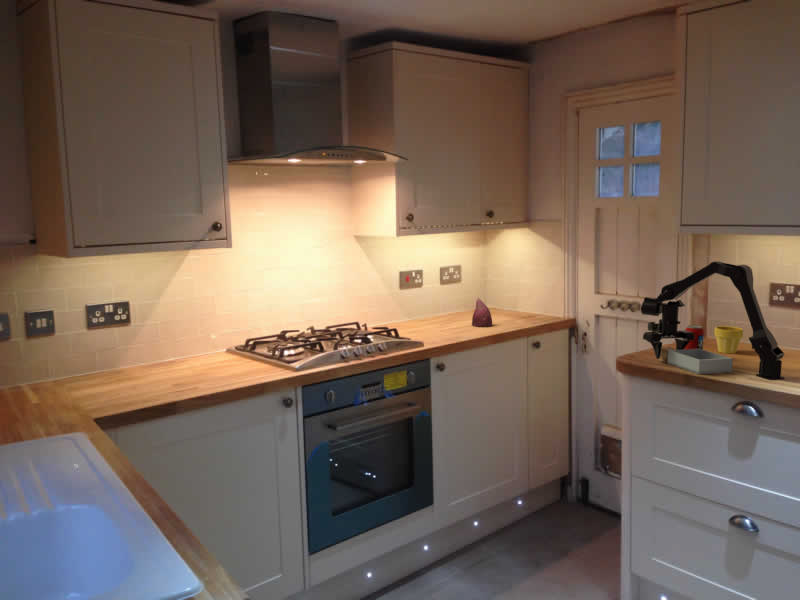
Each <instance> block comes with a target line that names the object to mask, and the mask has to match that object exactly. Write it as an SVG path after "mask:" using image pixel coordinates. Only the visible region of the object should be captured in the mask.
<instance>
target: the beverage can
mask: <svg viewBox="0 0 800 600" xmlns="http://www.w3.org/2000/svg"><path fill="white" fill-rule="evenodd" d="M685 330H686V331H690V332H693V333H694V335H695V339H694V340H689V341H691V342H689V343H688V344H687V346H686V347H685V348H684V349H702V350H704V338H705V337H704V333H705V331H704V328H703V326H702V325H691V324H689V325H687V326H686V328H685Z"/></svg>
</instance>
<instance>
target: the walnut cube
mask: <svg viewBox="0 0 800 600" xmlns="http://www.w3.org/2000/svg"><path fill="white" fill-rule="evenodd" d="M668 350H677V349H676V348H673V347H671V346H670V347H669V346H665V347H663V346H662V348H661V354H660V358H659V359H657V361H658V360H660V361H659V362H661V361H662V362H661V363H664V362H665V363H664V364H667V361H668Z"/></svg>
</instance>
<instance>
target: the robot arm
mask: <svg viewBox="0 0 800 600" xmlns="http://www.w3.org/2000/svg"><path fill="white" fill-rule="evenodd" d="M716 274H718V275H720V276H723V277H727V278H729V279H730V281H731V282H732V284H733V286H734V288H736V290H737V291H738V292H739V294H740V297H741V300H742V302H743V306H744V309H745V312H746V315H747V318H748V321H749V323H750V326H751V330H752V336H749V337H748V339H749V340H748V341H749V342H750V344H751V350H754V351H755V353H756V354H758V358H759V360H760V361H759V365H758V373H755V376H756V377H760V378H762V379H767V380H779V379H781V380H782V379H785V376H782V365H783V364H782V363H783V361H782V360H781V359H783V357H784V355H785V353H784V351H783V350H782V349H781V348H780V347H779V345H778V342H777V340H776V338H775V336H774V334H773V333H772V332H771V331H770V330H769V328H768V327H767V325H766V322H765V319H764V315H763V312H762V309H761V307H760V304H759V301H758V298H757V295H756V293H755V290H754V275H753V269H752V268H751V267H750V266H749V265H747V264H738V265H736V264H732V263H726V262H722V261H719V260H717V261H711V262H710V263H709V264H708V265H706V266H704V267H702V268H701V269H699V270H697V271H695V272H693V273H692V274H690V275H688V276H686V277H685V278H683V279H681V280H678V281H674V282H672V283H669V284H665V285H664V286H663V287H661V290H660V294H659V295H658V296H657V297H655V298H654V297H648V296H646V297H644V298H643V302H642V304H641V306H640V312H641V314H642V315H643V316H644V315H646V316H652V317H659V316H660V315H661V319H659V320H658V323H655V321H649V322H647V330H648V331H645V332H644V333H643V335H642V340H645V341H647V342H648V343H650V344H651V347H652V348H653V352H654V354H655V358H656V360H658V359H659V358H660V354H661V348H662V347H663V342H662V341H661V340H662V339H663V340H665V339H674V340H675V344H676V345H675V346H676V347H675V349H677V350H684V348H685V347H686V346H687V344H688V343H689V342H691V341H689V340H694V339H695V335H694V333H693V332H690V331H686V329H684V330H678V327H679V325H680V324H681V321H680V320H679V314H680V313H679V310H680V309H679V308H683V307H685V306H686V305H685V303H684V302H683V301H682V300H681V299H679V298H681V297H682V296H683V295H684V294H686V293H687V292H688V291H689V290H690V289H691V288H692V287H695V286H696V285H699V283H701V282H704V281H705V280H707V279H708V278H710V277H712V276H714V275H716ZM676 299H678V300H677V301H673V300H676ZM667 301H668V302H667Z"/></svg>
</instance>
